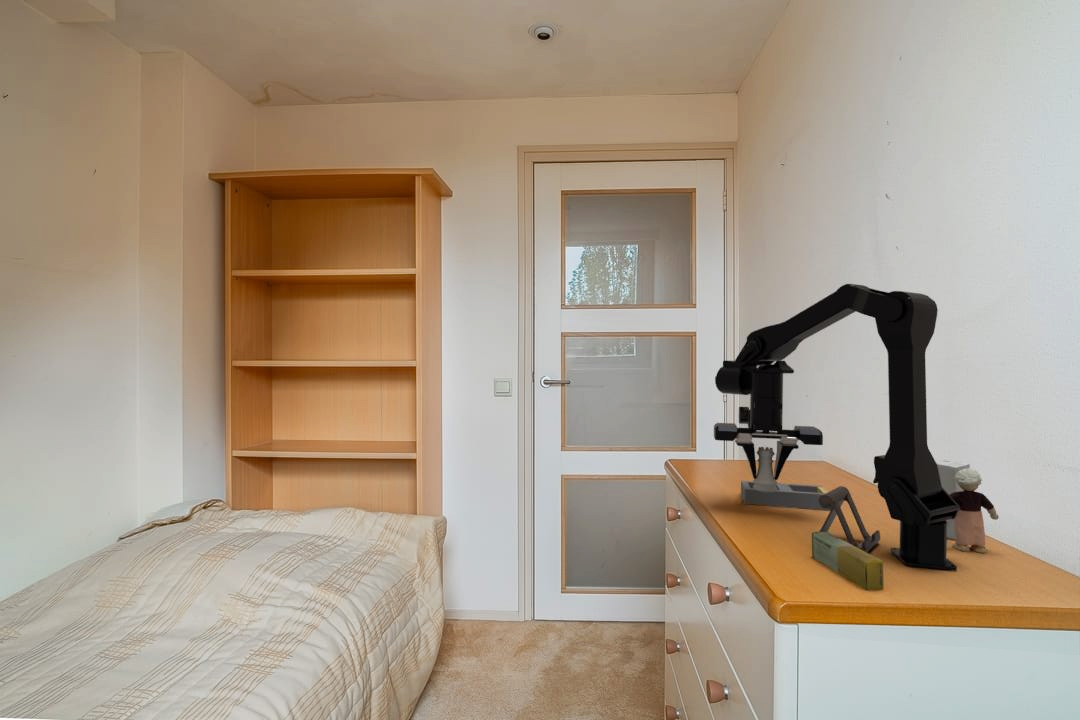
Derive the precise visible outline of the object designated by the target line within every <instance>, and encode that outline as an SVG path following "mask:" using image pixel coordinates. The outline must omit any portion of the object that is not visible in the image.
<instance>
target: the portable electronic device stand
mask: <svg viewBox="0 0 1080 720" xmlns="http://www.w3.org/2000/svg"><path fill="white" fill-rule="evenodd" d="M844 502H847V504H848V506H849V508H850V511H851V513H852V516H853V518H854V520H855V523H856V524H857V527H858V529H859V531H860V534H861V536H862V538H863V540H862V541H861V542H860V543H859V544H858V543H857V541H856V540H855V538H854V536H853V534H852V531H851V529H850V527H849V525H848V522H847V519H846V517H845V514H844V513H843V511H842V510H843V509H842V508H841V507H842V506H843V504H844ZM819 504H820V506H821V507H823V508H825V509H831V510H829V513H828V514H827V517H826V518H825V520H824V523H823V525H822V526H821V529H820V530H819V532H828V533H829V530H830V529H831V526H832V524H833V522H834V520H836V519H835V518H838V520H839V523H840V525H841V528H842V530H843V533H844V534H845V537H846V539H847V541H848V542H847V543H849V544H851V545H853V546H855V547H857V548H859V549H861V550H863V551H865V552H867V553H868V552H869V551H870V550H871V549H873V547H874V546H875V545H878V543H879V542H880V541H881V533H880V530H879V529H877V530H876V531H874V532H873V533H872V534H871V535H870V534H869V532H868V531H867V529H866V527H865V524H864V523H863V520H862V517H861V515H860V512H858V511H859V510H858V509H857V506H856V503H855V501H854V499H853V497H852V494H851V493H850V490H849V489H848V488H847V487H845V486H837V487H836V488H833V489H831V490H830V491H828V493H826V494H824V495H822V496H820V498H819Z"/></svg>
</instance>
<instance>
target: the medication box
mask: <svg viewBox="0 0 1080 720" xmlns="http://www.w3.org/2000/svg"><path fill="white" fill-rule="evenodd" d="M811 550H812V551H811V555H812V557H811V558H813V559H815V560H817V561H818V562H819V563H821V564H823V565H824V566H827V567H828V568H830V569H831V570H833V571H834V572H836V573H837V574H839V575H840V576H842V577H844V578H846V579H848V580H849V581H850V582H853V583H854V584H856V585H857V586H858V587H861V588H862V589H863V590H865V591H879V590H884V561H883V560H882V559H880V558H878V557H876V556H874V555H872V554H870V553H868V552H865V551H863V550H861V549H859V548H857V547H855V546H853V545H851V544H849V542H847V541H846V540H843V539H841V538H840V537H838V536H835V535H833V534H832V533H831V532H829V531H828V532H820V531H815V532H812V533H811Z"/></svg>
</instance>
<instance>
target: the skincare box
mask: <svg viewBox="0 0 1080 720" xmlns="http://www.w3.org/2000/svg"><path fill="white" fill-rule="evenodd" d="M935 462H936V464H937V466H938V471H939V476H940V481H941V486H942V488H943V489H944V490H945V491H946V492H947V493H948V494H949V495H950V494H951V493H954V492H959V491H964V490H963V489H961V488H960V486H959V484H958V483H957V482H956V479H955V475H956V474H957V472H959V470H962V469H965V468H970V469H971V467H970V466H971V465H970V463H964V462H958V461H950V460H937V461H936V460H935ZM946 521H947V540H953V541H954V540H955V541H956V539H955V519H950V520H946Z"/></svg>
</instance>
